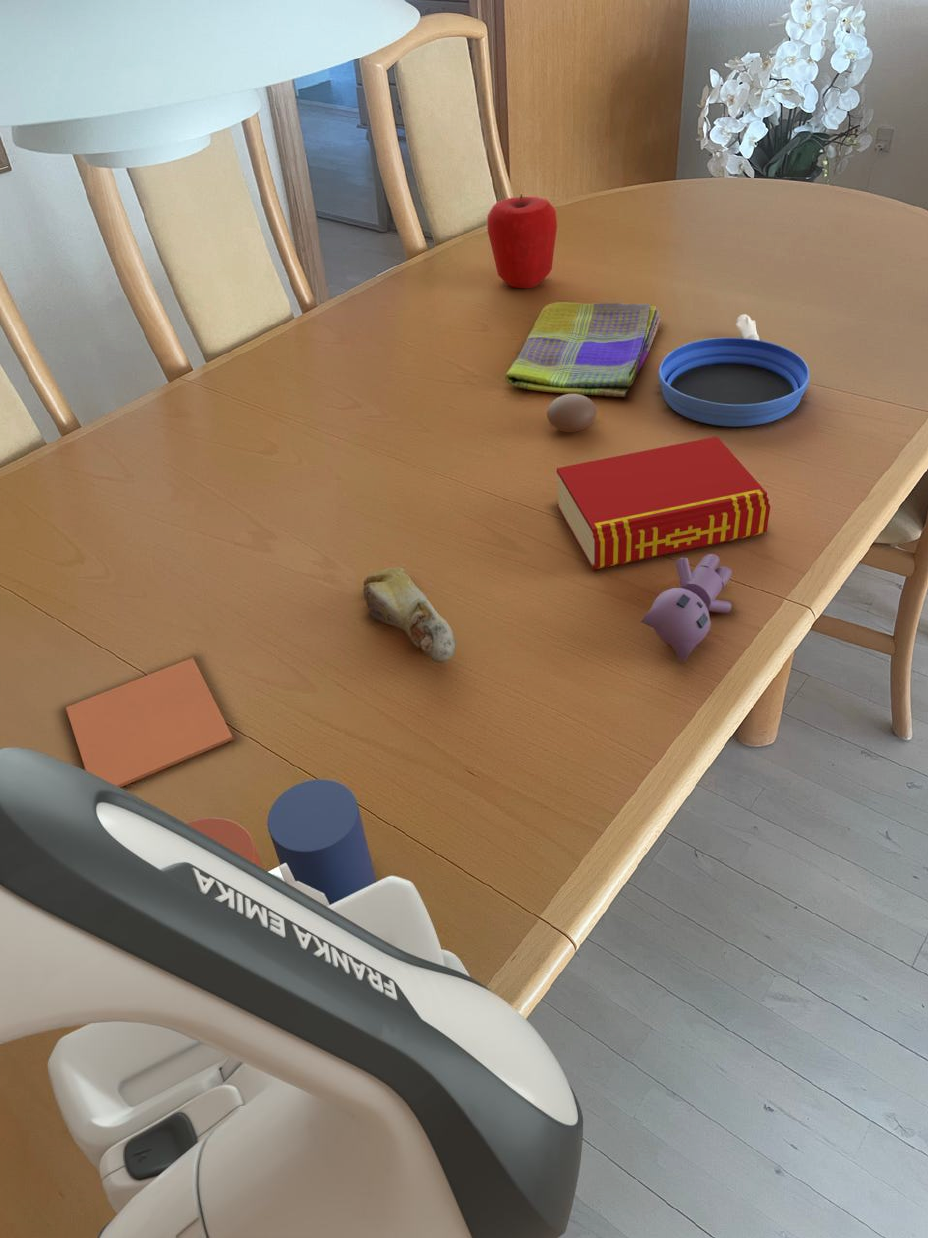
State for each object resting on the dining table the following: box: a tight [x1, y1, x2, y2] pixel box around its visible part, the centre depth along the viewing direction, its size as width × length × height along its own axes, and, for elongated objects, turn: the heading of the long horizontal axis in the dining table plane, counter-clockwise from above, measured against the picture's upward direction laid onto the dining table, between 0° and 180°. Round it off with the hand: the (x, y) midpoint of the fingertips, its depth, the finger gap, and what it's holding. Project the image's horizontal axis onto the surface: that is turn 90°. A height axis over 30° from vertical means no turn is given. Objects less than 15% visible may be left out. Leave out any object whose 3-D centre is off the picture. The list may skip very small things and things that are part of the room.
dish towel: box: [504, 301, 662, 398], centre depth 134 cm, size 18×24×3 cm
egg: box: [546, 393, 597, 433], centre depth 119 cm, size 6×6×4 cm
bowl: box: [658, 337, 810, 428], centre depth 122 cm, size 18×18×4 cm
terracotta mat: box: [65, 657, 234, 788], centre depth 86 cm, size 12×12×1 cm
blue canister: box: [267, 778, 377, 905], centre depth 67 cm, size 6×6×10 cm
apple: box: [486, 193, 558, 289], centre depth 151 cm, size 11×10×14 cm
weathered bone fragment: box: [363, 566, 456, 664], centre depth 92 cm, size 5×5×15 cm
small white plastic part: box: [735, 313, 760, 340], centre depth 133 cm, size 4×6×3 cm, turn 159°
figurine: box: [640, 553, 733, 665], centre depth 90 cm, size 5×7×12 cm
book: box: [556, 436, 771, 571], centre depth 102 cm, size 18×13×5 cm
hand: (215, 902), depth 56 cm, fingers closed on terracotta canister, 6 cm apart
